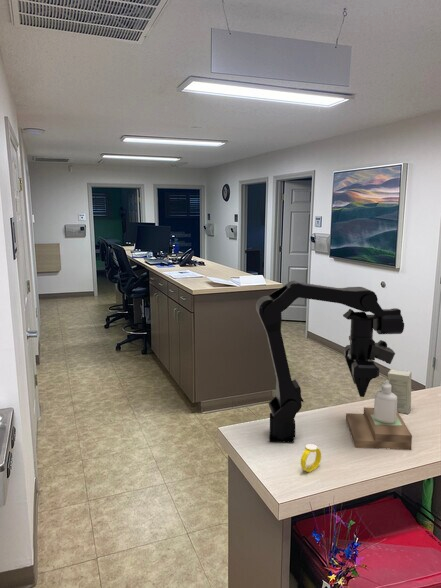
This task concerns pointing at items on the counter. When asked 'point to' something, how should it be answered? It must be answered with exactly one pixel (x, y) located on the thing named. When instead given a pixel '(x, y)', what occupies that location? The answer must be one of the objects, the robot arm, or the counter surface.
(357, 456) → the counter surface
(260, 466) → the counter surface
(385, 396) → the eye dropper bottle
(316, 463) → the watch
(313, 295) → the robot arm
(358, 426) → the step riser
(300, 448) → the counter surface
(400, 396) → the skincare box
